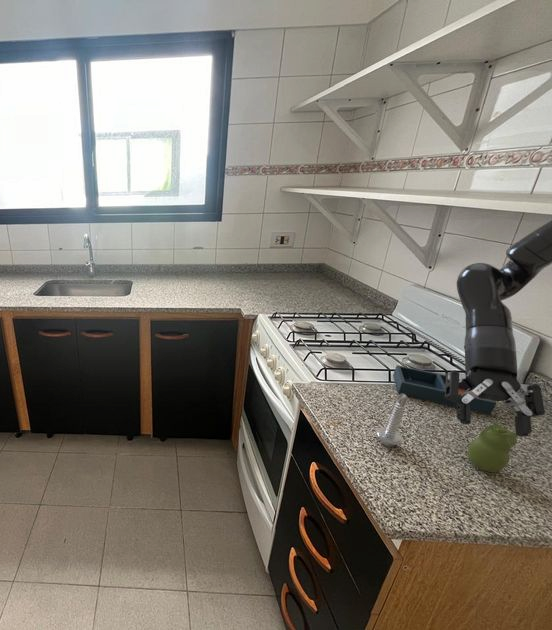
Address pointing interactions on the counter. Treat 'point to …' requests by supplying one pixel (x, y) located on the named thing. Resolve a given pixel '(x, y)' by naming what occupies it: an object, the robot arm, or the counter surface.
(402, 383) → the tray
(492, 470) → the pear
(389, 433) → the screw
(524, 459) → the counter surface
